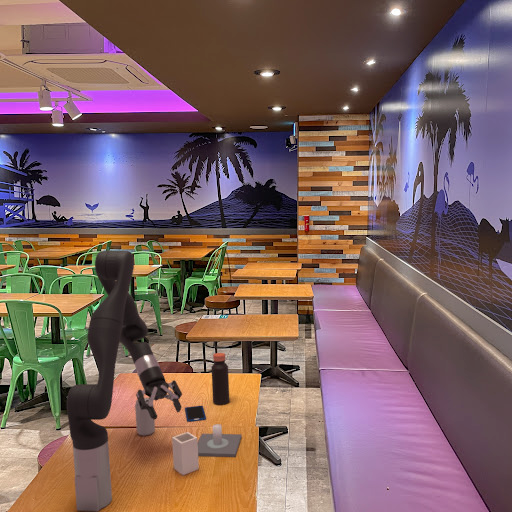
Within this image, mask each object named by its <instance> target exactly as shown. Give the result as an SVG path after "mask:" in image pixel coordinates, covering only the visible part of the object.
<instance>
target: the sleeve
mask: <svg viewBox="0 0 512 512" xmlns="http://www.w3.org/2000/svg"><path fill="white" fill-rule="evenodd" d="M171 441H172V458H173V459H172V461H173V462H172V463H173V469H174V470H175V471H177V472H178V473H179V474H180V475H182V476H185V475H188V474H189V473H190V474H191V473H192V472H195V471H197V470H199V469H200V468H199V467H200V465H199V456H198V437H197V436H195V435H194V434H192V433H191V432H189V431H186V432H183V433H181V434H178V435H175V436H172V437H171Z"/></svg>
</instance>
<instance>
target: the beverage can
mask: <svg viewBox="0 0 512 512" xmlns="http://www.w3.org/2000/svg"><path fill="white" fill-rule="evenodd" d="M144 399H145V402H146V404H148V400H149V397H144ZM152 406H153V407H154V403H153V404H152ZM134 408H135V409H134V411H135V422H136V423H135V424H136V432H137V434H138V435H139V436H144V437H145V436H150V435H152V434H153V433H154V432H155V430H156V427H155V426H156V423H155V420H153V418H151V417H150V414H149V412H148V410H147V409H144V410H141V408H140V405H139V402H138V399H136V400H135V404H134ZM154 408H155V407H154Z"/></svg>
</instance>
